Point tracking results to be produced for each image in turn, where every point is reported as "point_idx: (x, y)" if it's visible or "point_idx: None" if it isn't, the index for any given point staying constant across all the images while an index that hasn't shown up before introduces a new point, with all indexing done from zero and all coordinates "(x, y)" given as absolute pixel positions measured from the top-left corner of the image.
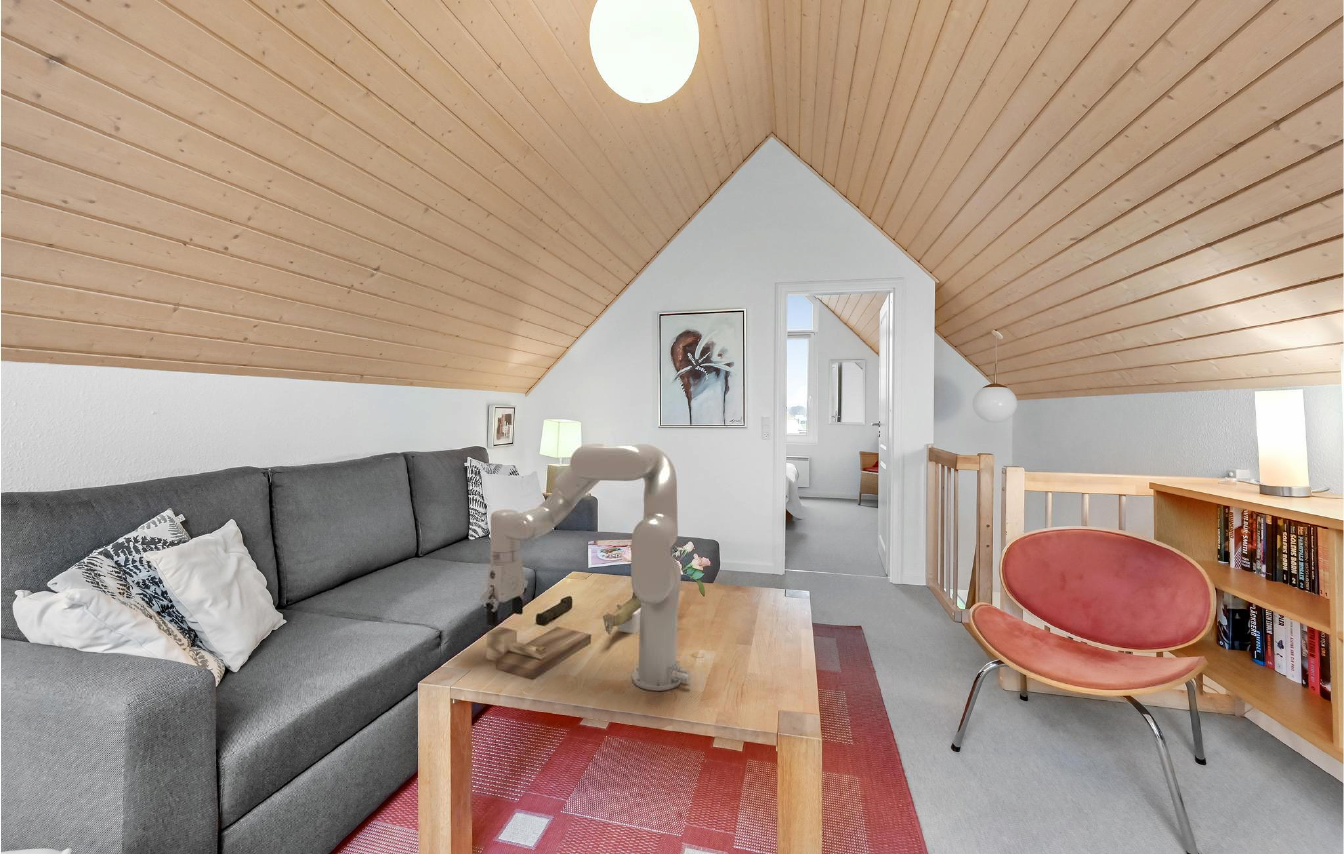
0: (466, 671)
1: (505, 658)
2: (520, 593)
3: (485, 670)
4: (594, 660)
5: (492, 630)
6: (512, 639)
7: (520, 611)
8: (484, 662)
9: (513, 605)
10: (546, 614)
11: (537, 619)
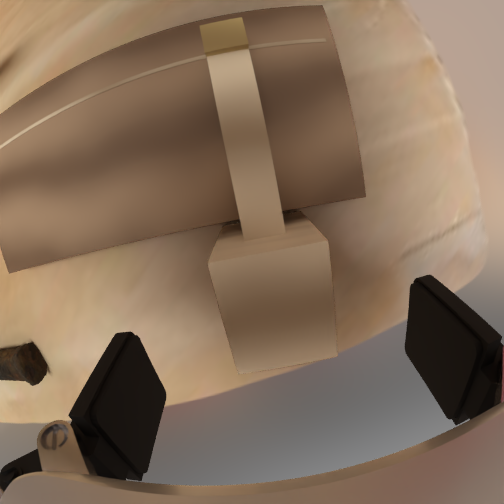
0: (414, 257)
1: (336, 170)
2: (77, 497)
3: (380, 213)
4: (77, 9)
5: (301, 360)
6: (249, 243)
7: (129, 347)
8: (339, 271)
9: (150, 430)
10: (13, 361)
11: (40, 372)
